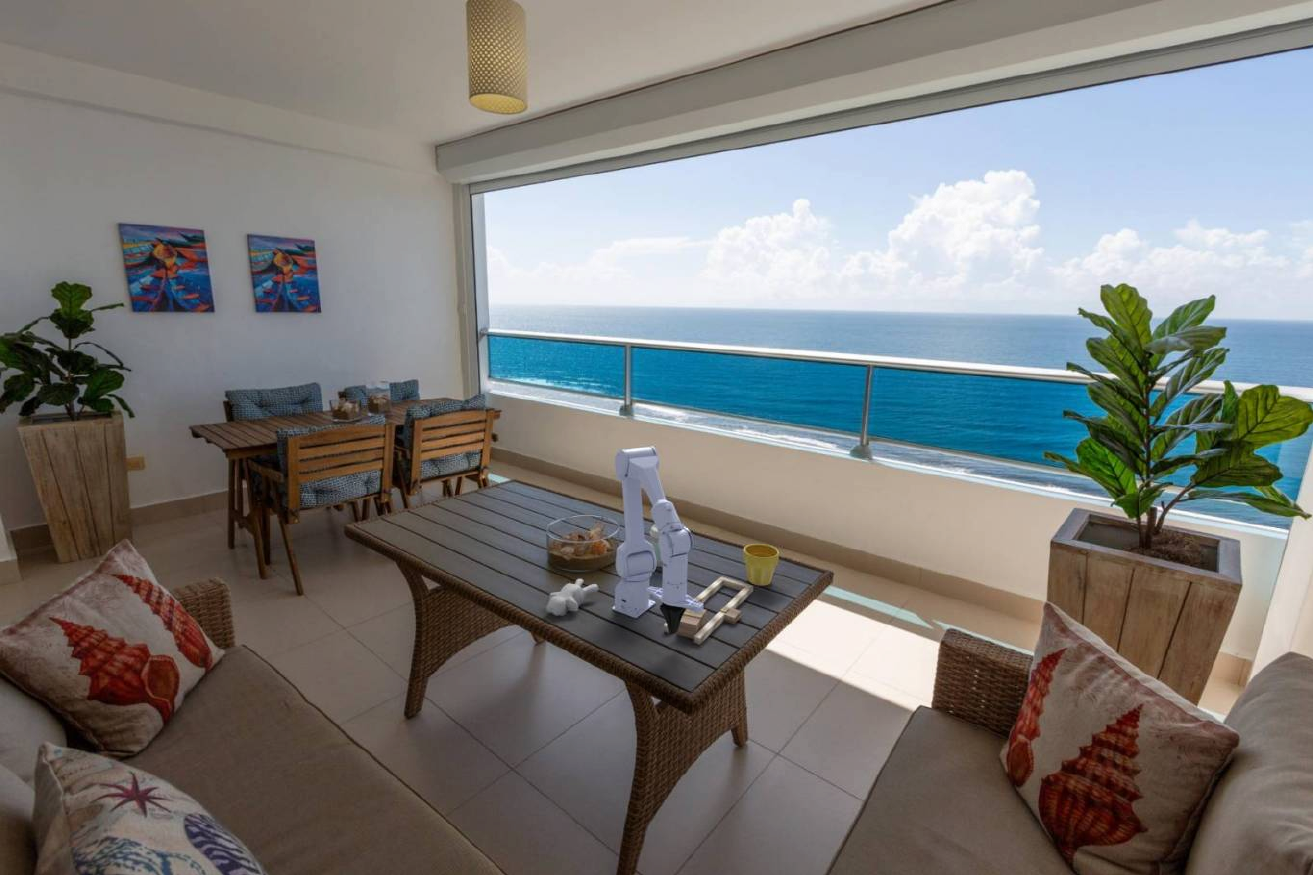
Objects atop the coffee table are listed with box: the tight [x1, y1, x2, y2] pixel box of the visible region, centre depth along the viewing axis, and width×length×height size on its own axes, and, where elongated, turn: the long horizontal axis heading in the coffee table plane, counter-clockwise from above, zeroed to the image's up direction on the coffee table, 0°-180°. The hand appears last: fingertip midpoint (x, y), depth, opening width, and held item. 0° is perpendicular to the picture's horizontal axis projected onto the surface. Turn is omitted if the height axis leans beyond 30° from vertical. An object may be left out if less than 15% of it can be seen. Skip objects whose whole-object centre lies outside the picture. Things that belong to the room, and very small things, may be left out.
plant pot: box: [742, 543, 780, 587], centre depth 165 cm, size 10×10×10 cm
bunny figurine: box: [545, 578, 599, 617], centre depth 150 cm, size 10×5×15 cm
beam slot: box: [663, 576, 754, 645], centre depth 148 cm, size 32×13×2 cm, turn 147°
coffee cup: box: [649, 524, 663, 568], centre depth 175 cm, size 8×8×12 cm
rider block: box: [676, 608, 707, 640], centre depth 140 cm, size 8×5×4 cm, turn 157°
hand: (673, 631), depth 132 cm, fingers closed
